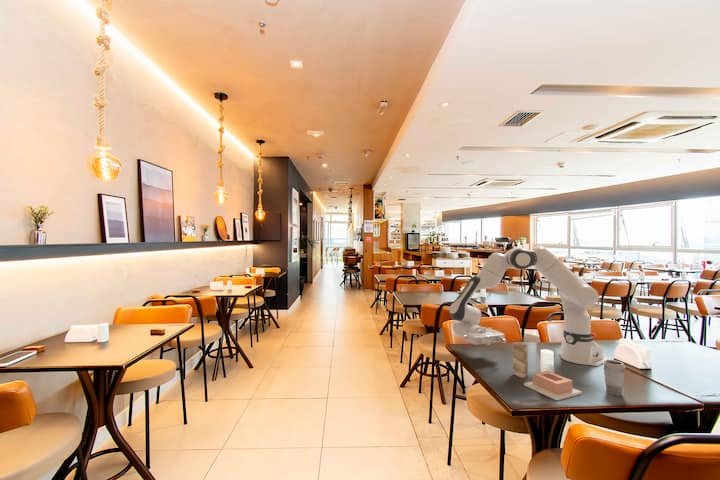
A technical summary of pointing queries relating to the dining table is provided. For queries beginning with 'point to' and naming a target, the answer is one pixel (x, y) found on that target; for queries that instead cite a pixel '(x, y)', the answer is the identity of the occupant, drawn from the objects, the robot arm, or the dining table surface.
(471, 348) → the dining table surface
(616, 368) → the cup
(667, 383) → the dining table surface
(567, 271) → the robot arm
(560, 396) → the pink slotted holder
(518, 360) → the slat
